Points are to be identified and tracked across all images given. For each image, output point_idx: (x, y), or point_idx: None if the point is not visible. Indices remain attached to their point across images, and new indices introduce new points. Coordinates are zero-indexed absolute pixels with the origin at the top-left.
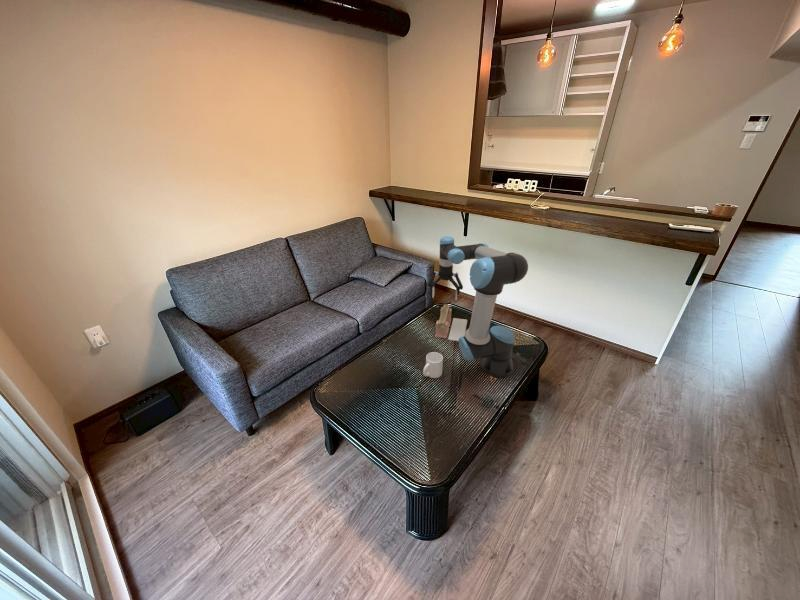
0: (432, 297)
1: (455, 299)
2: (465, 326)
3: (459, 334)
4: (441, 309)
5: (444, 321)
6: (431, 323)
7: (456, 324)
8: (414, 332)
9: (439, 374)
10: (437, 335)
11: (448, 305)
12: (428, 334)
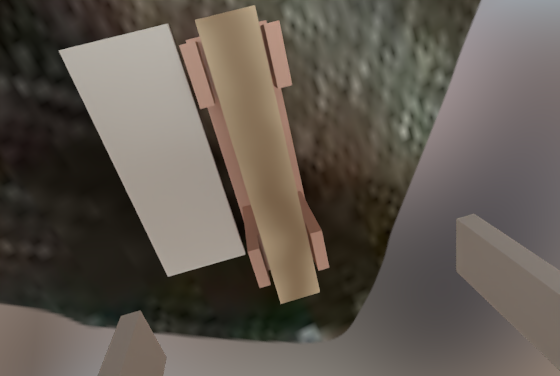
0: (473, 216)
1: (135, 319)
2: (142, 214)
3: (128, 116)
4: (318, 241)
5: (210, 61)
6: (340, 152)
7: (200, 207)
8: (407, 4)
9: None
10: None
11: (286, 296)
12: (314, 27)
